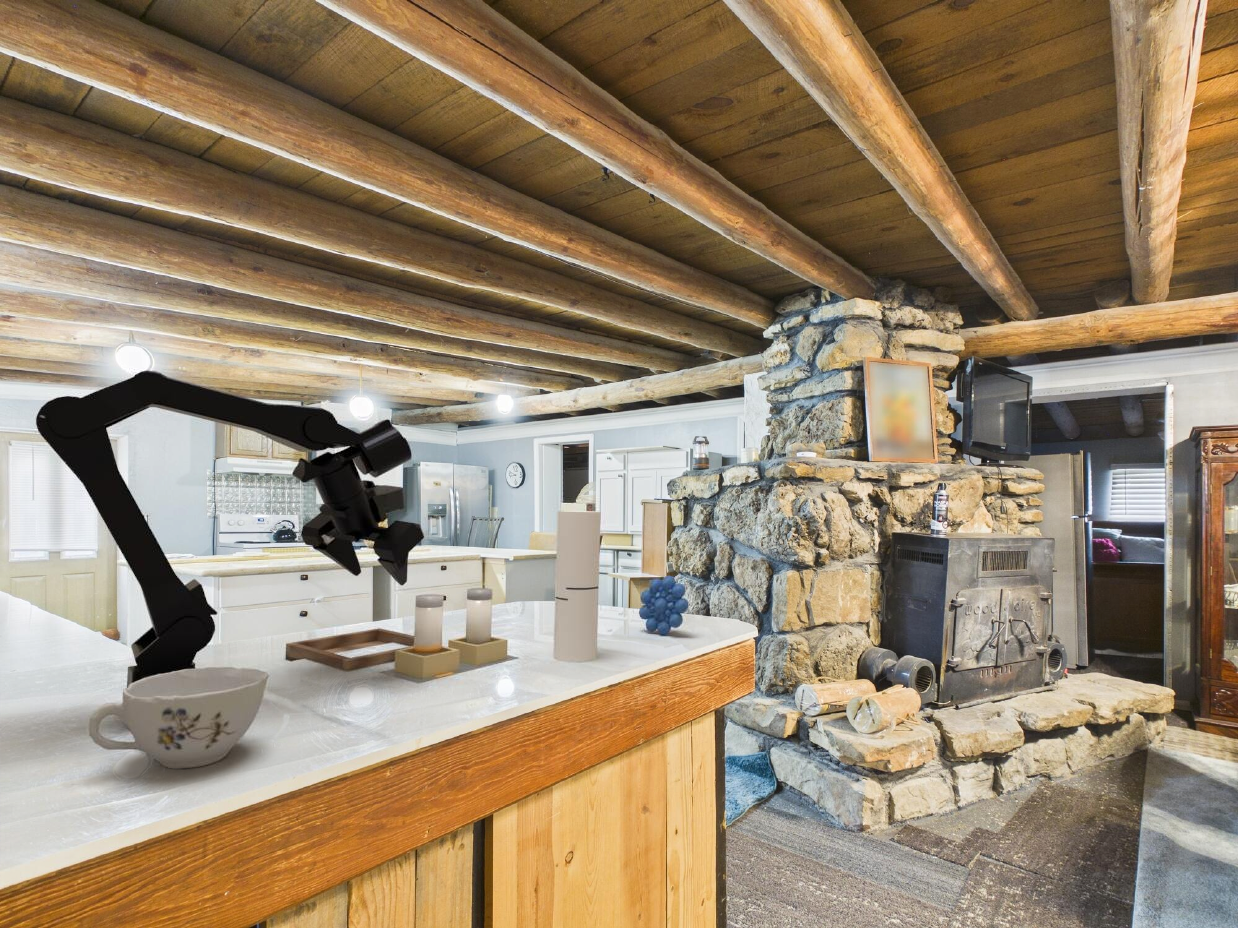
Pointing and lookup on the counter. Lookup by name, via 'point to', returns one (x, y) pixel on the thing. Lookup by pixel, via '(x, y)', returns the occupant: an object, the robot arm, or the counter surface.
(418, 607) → the ball
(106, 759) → the counter surface
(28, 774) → the counter surface
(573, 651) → the cylindrical container
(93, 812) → the counter surface
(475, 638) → the cylinder
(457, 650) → the block
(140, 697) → the teacup
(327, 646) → the tray
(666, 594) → the grapes
